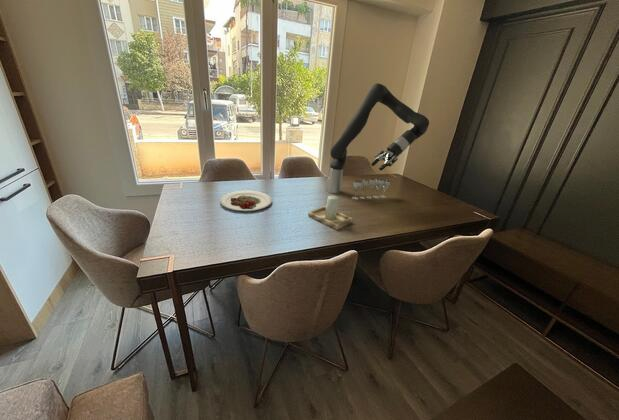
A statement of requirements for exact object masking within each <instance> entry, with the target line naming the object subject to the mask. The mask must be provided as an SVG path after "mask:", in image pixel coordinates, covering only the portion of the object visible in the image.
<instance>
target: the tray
mask: <svg viewBox="0 0 619 420" xmlns="http://www.w3.org/2000/svg"><path fill="white" fill-rule="evenodd" d="M325 212H326V206H325V205H323V206H321V207H319V208H316V209H313V210H310V211H308V215H307V217H308V218H311V219H313V220H315V221H317V222H319V223H321V224H322V225H325V226H327V227H329V228H331V229H334V230H336V231H338V230H340V229H342V228H343V227H345V226H347V225H349V224H351V223H352V221H353V218H352V217H350V216H348V215H345V214H343V213H342V212H339V211H337V213H336V218H335V220H328V219H326V218H325Z"/></svg>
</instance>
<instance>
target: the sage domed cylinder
mask: <svg viewBox="0 0 619 420" xmlns="http://www.w3.org/2000/svg"><path fill="white" fill-rule="evenodd" d="M326 198H327V200H326V212H325V218H326V219H328V220H335V218H336V213H337V212H338V206H339V201H340V199H339V197H338V196H336V195H328V196H327V197H326Z"/></svg>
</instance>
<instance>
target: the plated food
mask: <svg viewBox="0 0 619 420" xmlns="http://www.w3.org/2000/svg"><path fill="white" fill-rule="evenodd" d="M272 202H273V199H272V197H271V196H270V195H269V194H267V193H264V192H261V191H256V190H249V189H248V190H236V191H232V192H229V193H225V194H224V195H223V196H221V198H220V200H219V203H220V205H222V206H223V207H224V208H226V209H228V210H232V211H240V212H250V211H251V212H252V211H258V210H262V209H265V208H266V207H269V206H270V205H271V204H272Z"/></svg>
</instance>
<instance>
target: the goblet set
mask: <svg viewBox="0 0 619 420" xmlns="http://www.w3.org/2000/svg"><path fill="white" fill-rule="evenodd" d="M390 182H391V181H390V180H389V179H383V178H379V177H378V178H370V179H369V182H368V179H366V178H364V179H362V180H354V181H353V184H352V187H353V188H354V191H355V194H354V196H351V199H352V200H356V201H357V200H359V199H362V200H365V199H366V198H367V199H373V198H375V199H380V198H384V199H386V198H387V196H386V195H385V192H386V190H387V189H388V188H389V186H390ZM368 183H369V195H367V196H366V198H365V197H364V192H365V190H366V187H367V186H368ZM374 187H376V195H373V196H371V192H372V189H374ZM382 187H383V195H382V194H381V195H379V196H378V194H379V193H378V192H379V190H380V189H381V188H382ZM361 188H362V195H361V196H359V197H357V192H358V190H360V189H361Z"/></svg>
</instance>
